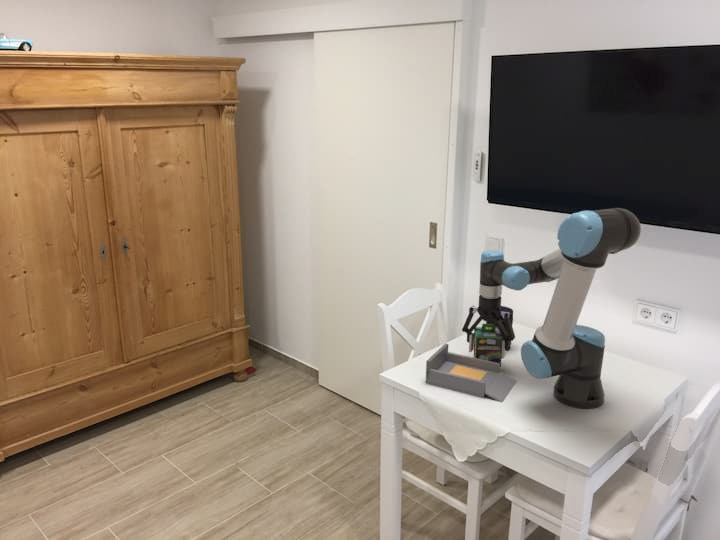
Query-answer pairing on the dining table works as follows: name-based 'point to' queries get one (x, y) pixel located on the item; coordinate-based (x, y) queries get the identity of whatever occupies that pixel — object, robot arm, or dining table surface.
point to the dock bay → (467, 374)
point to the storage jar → (504, 309)
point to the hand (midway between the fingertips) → (487, 354)
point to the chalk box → (488, 343)
